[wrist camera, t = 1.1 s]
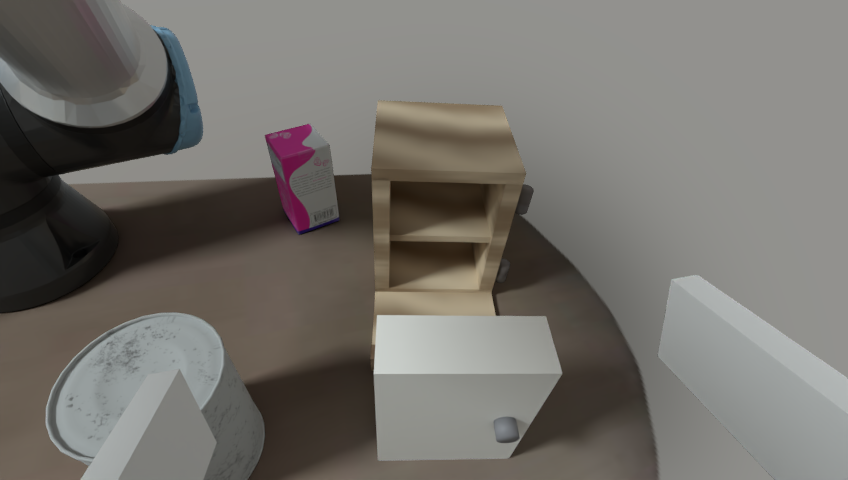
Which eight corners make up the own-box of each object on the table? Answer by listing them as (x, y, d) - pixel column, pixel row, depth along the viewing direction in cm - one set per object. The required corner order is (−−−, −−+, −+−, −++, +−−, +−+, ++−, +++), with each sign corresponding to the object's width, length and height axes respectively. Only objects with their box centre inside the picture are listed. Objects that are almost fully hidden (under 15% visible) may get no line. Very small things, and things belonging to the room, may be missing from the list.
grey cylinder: (268, 383, 38) (233, 303, 29) (261, 500, 31) (213, 443, 23) (154, 401, 36) (80, 322, 27) (121, 530, 30) (11, 479, 21)
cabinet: (379, 222, 54) (377, 100, 42) (487, 224, 55) (515, 106, 43) (370, 369, 39) (364, 247, 27) (518, 369, 40) (573, 250, 28)
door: (379, 411, 37) (376, 315, 26) (500, 410, 37) (545, 316, 27) (377, 477, 33) (372, 394, 22) (511, 474, 34) (568, 393, 23)
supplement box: (322, 196, 57) (311, 121, 49) (340, 221, 54) (332, 145, 46) (281, 209, 55) (263, 132, 47) (297, 236, 52) (281, 158, 43)
